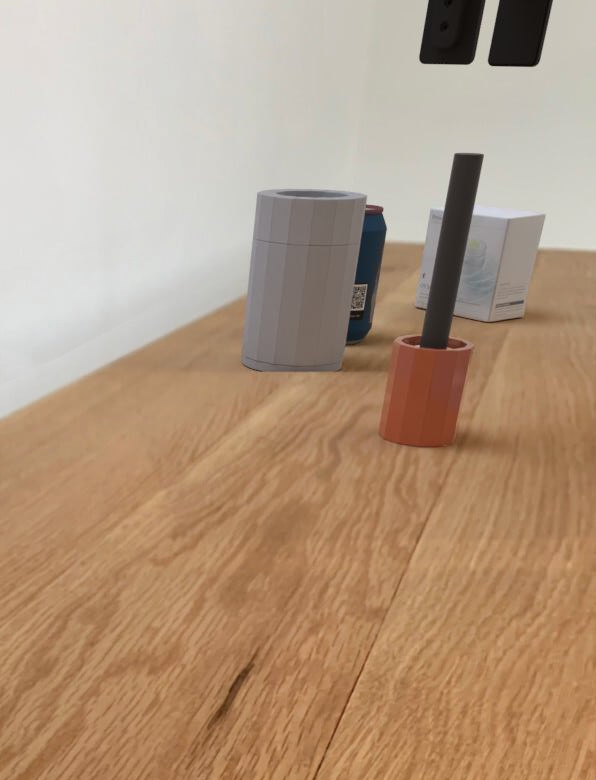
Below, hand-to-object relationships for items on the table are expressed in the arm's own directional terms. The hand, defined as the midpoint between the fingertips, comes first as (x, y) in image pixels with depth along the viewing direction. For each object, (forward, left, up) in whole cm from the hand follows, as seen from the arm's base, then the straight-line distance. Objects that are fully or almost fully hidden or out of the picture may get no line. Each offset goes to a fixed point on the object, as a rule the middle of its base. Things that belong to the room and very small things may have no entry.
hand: (480, 65), depth 68 cm
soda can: (-4, -36, -24) cm, 43 cm away
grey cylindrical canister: (+3, -25, -23) cm, 34 cm away
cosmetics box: (-23, -50, -24) cm, 60 cm away
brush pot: (0, 0, -23) cm, 23 cm away
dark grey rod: (0, 0, -23) cm, 23 cm away
